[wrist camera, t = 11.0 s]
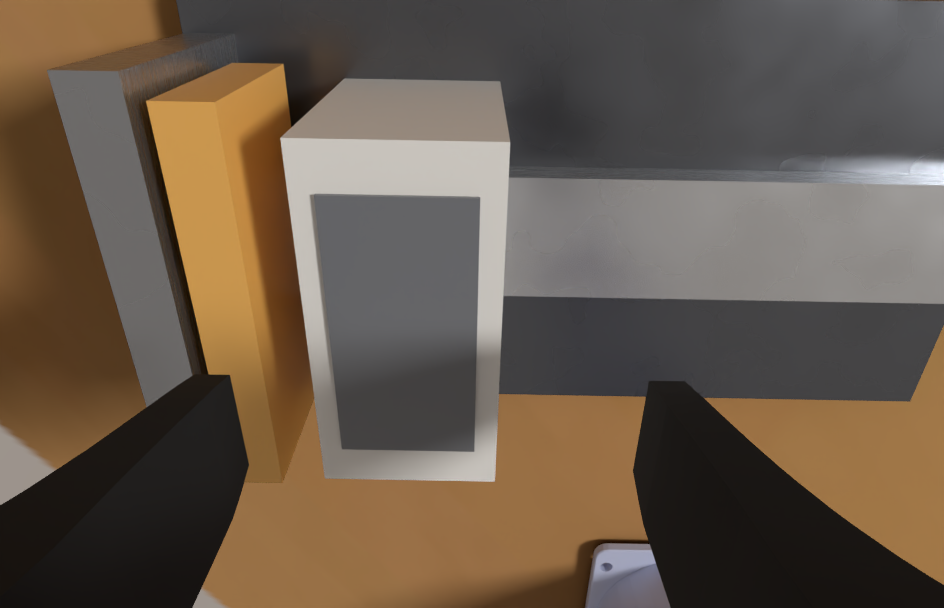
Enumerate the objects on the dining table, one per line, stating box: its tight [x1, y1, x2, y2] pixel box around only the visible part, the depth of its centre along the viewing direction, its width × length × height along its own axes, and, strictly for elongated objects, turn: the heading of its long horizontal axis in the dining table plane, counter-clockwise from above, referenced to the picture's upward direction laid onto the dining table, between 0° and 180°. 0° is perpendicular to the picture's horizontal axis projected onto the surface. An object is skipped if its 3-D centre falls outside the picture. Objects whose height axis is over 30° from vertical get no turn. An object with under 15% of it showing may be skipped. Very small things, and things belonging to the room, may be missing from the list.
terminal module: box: [280, 78, 510, 482], centre depth 15 cm, size 8×4×6 cm, turn 179°
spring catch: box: [146, 63, 314, 483], centre depth 15 cm, size 9×1×4 cm, turn 179°
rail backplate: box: [47, 0, 944, 407], centre depth 16 cm, size 12×22×7 cm, turn 89°
